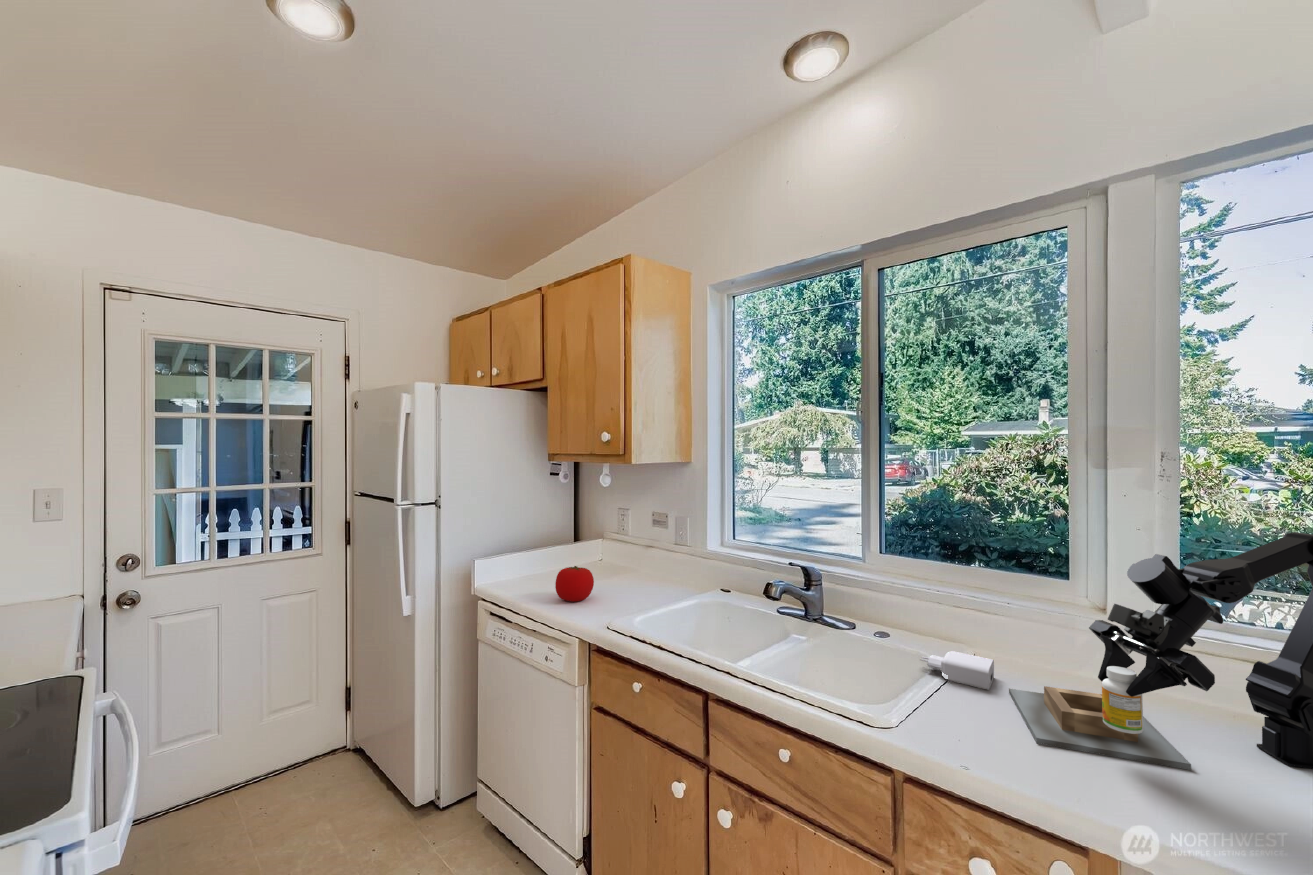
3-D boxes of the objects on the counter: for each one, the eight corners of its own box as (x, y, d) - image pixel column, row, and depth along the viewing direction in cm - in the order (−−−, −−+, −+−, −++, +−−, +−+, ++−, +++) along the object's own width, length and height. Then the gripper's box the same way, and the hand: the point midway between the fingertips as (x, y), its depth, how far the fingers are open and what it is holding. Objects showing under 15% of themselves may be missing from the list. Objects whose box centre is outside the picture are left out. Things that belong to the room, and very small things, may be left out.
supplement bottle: (1107, 716, 99) (1106, 661, 99) (1146, 728, 95) (1145, 671, 95) (1098, 725, 96) (1097, 669, 96) (1139, 738, 92) (1137, 679, 92)
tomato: (548, 603, 187) (548, 569, 187) (566, 593, 200) (566, 560, 200) (582, 606, 183) (583, 571, 183) (598, 596, 196) (599, 563, 196)
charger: (924, 662, 139) (994, 678, 129) (915, 674, 131) (988, 692, 122) (924, 643, 139) (994, 658, 129) (915, 654, 131) (988, 670, 122)
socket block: (1133, 711, 113) (1133, 689, 113) (1191, 769, 93) (1190, 743, 93) (1008, 692, 121) (1008, 672, 121) (1036, 743, 101) (1036, 718, 101)
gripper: (1097, 576, 105) (1042, 635, 105) (1196, 605, 86) (1129, 677, 86) (1138, 617, 105) (1083, 676, 105) (1245, 654, 87) (1178, 726, 86)
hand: (1113, 686), depth 95 cm, fingers closed on supplement bottle, 5 cm apart
